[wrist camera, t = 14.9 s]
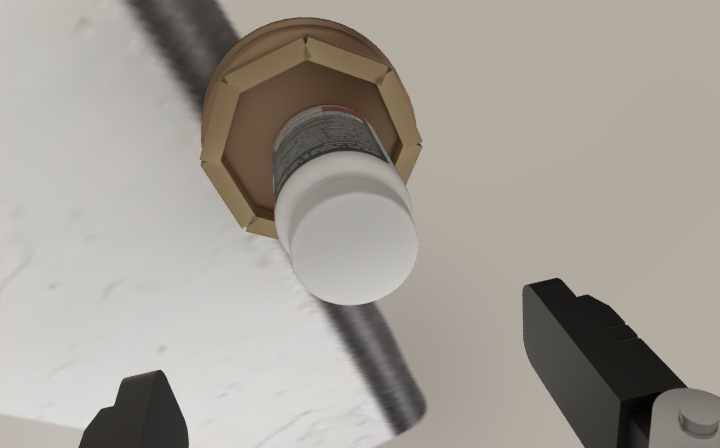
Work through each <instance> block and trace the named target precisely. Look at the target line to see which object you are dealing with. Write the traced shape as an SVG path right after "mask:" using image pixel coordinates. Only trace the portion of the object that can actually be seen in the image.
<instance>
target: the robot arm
mask: <svg viewBox="0 0 720 448" xmlns="http://www.w3.org/2000/svg"><path fill="white" fill-rule="evenodd" d="M522 296H523V339H524V345H525V350H526V353H527V356H528V359H529V361H530V363H531V365H532V367H533V368H534V370H535V371H536V373H537V374H538V376H539V378H540V379H541V381H542V382H543V384H544V385H545V387H546V388H547V390H548V392H549V393H550V394H551V396H552V398H553V399H554V401H555V402H556V404H557V405H558V407H559V408H560V410H561V412H562V413H563V415H564V416H565V418H566V419H567V421H568V422H569V424H570V425H571V427H572V429H573V430H574V432H575V433H576V435H577V436H578V438H579V439H580V441H581V443H582V444H583V446H584V447H585V448H720V397H718V396H716V395H714V394H712V393H709V392H706V391H702V390H699V389H692V388H688V387H687V386H686V385H685V384H684V383H683V382H682V381H681V380H680V379H679V378H678V377H677V376H676V375H675V374H674V373H673V372H672V370H671V369H670V368H669V367H668V366H667V365H666V364H665V363H664V362H663V361H662V360H661V359H660V358H659V357H658V356H657V355H656V354H655V353H654V352H653V351H652V350H651V349H650V348H649V347H648V345H647V344H645V342H644V341H643V340H642V339H640V338H638V337H637V334H636V333H635V332H634V331H633V330H632V329H631V328H630V327H629V326H628V325H625V322H624V321H623V319H621V318H620V316H619V315H618V314H617V313H616V312H615V311H614V310H613V309H612V308H611V307H610V306H609V305H607V304H604V303H603V302H601V301H599V300H597V299H595V298H593V297H591V296H590V295H583V296H579V297H576V296H575V295H574V293H573V292H572V291H571V290H570V289H569V288H568V287H567V285H565V283H564V282H563V281H562V280H561V279H559V278H554V279H550V280H545V281H541V282H537V283H532V284H529V285H525V286H524V288H523V294H522ZM79 448H189V439H188V431H187V426H186V422H185V419H184V417H183V415H182V412H181V410H180V408H179V405H178V403H177V401H176V399H175V396H174V394H173V392H172V389H171V387H170V385H169V382H168V380H167V378H166V376H165V374H164V373H163V371H161V370H157V371H152V372H148V373H144V374H140V375H135V376H131V377H127V378H124V379H123V380H122V382H121V384H120V388H119V391H118V394H117V398H116V401H115V404H114V406H111V407H107V408H103V409H101V410H100V411H99V412H98V414H97V415H96V416H95V418H94V419H93V420H92V422H91V423H90V424H89V425H88V427H87V428H86V429H85V431H84V433H83V437H82V440H81V442H80V445H79Z"/></svg>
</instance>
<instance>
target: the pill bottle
mask: <svg viewBox="0 0 720 448" xmlns="http://www.w3.org/2000/svg"><path fill="white" fill-rule="evenodd" d="M272 172H273V194H274V215H275V216H274V219H275V226H276V230H277V234H278V237H279V240H280V242H281V244H282V246H283V247H284V249H285V251H286V252H287V253H288V255H289V256H290V259H291V264H292V267H293V270H294V273H295V275H296V277H297V278H298V280H299V281H300V283H301V284H302V285H303V286H304V287H305V288H306V289H307V290H308V291H309V292H310V293H312V294H313V295H315V296H316V297H318V298H320V299H322V300H324V301H327V302H330V303H335V304H341V305H359V304H366V303H369V302H373V301H375V300H378V299H380V298H382V297H384V296H386V295H388V294H389V293H391V292H392V291H394V290H395V289H396V288H398V287H399V286H400V285H401V284H402V283H403V282H404V281H405V279H406V278H407V277H408V276H409V274H410V273H411V271H412V269H413V267H414V265H415V262H416V259H417V255H418V249H419V239H418V232H417V229H416V226H415V223H414V222H413V219H412V206H411V199H410V196H409V193H408V190H407V187H406V185H405V183H404V181H403V179H402V177H401V176H400V174H399V173H398V171H397V169H396V167H395V166H394V164H393V162H392V161H391V159H390V157H389V155H388V154H387V152H386V150H385V148H384V146H383V145H382V143H381V141H380V139H379V137H378V135H377V134H376V132H375V130H374V129H373V127H372V126H371V125H370V124H369V122H368V121H367V120H366V119H365V118H363V117H362V116H361V115H359V114H358V113H356V112H354V111H352V110H350V109H348V108H345V107H341V106H336V105H320V106H316V107H312V108H309V109H307V110H304V111H302V112H300V113H298V114H297V115H295V116H294V117H292V118H291V119H290V120H289V121H288V122H287V123H286V124H285V125H284V126H283V128H282V129H281V130H280V132H279V134H278V136H277V138H276V140H275V143H274V146H273V152H272Z"/></svg>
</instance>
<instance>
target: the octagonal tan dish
mask: <svg viewBox="0 0 720 448" xmlns="http://www.w3.org/2000/svg"><path fill="white" fill-rule="evenodd" d="M320 105H336V106H341V107H345V108H348V109H350V110H352V111H354V112H356V113H358V114H359V115H361V116H362V117H363V118H365V119H366V120H367V121H368V122H369V124H370V125H371V126H372V127H373V129H374V130H375V132H376V134H377V135H378V137H379V139H380V141H381V143H382V145H383V146H384V148H385V150H386V152H387V154H388V155H389V157H390V159H391V161H392V162H393V164H394V166H395V167H396V169H397V171H398V173H399V174H400V176H401V177H402V179H403V181H404V183H405V185H406V183H407V181H408V179H409V177H410V174H411V172H412V170H413V167H414V165H415V163H416V160H417V158H418V156H419V153H420V151H421V149H422V146H421V144H420V142H422V139H421V137H420V134H419V132H418V130H417V127H416V121H415V115H414V110H413V107H412V104H411V101H410V98H409V96H408V94H407V92H406V90H405V88H404V86H403V84H402V82H401V80H400V78H399V76H398V74H397V72H396V70H395V68H394V67H393V66H392V64H391V63H390V61H389V60H388V58H387V57H386V56H385V55H384V54H383V53H382V52H381V50H380V49H379V48H378V47H377V46H376V45H374V44H373V43H372V42H371V41H370V40H369V39H367V38H366V37H365V36H363V35H362V34H360V33H358V32H357V31H355V30H353V29H351V28H349V27H347V26H345V25H342V24H340V23H336V22H333V21H330V20H325V19H319V18H300V17H299V18H291V19H284V20H281V21H276V22H273V23H270V24H267V25H265V26H263V27H260V28H258V29H256V30H254V31H253V32H251V33H250V34H248V35H246V36H245V37H243V38H242V39H241V40H240V41H238V42H237V43H236V44H235V45H234V46H233V47H232V48H231V49H230V50H229V51H228V52H227V53H226V54H225V56H224V57H223V58H222V60H221V61H220V63H219V64H218V66H217V67H216V69H215V71H214V73H213V75H212V77H211V79H210V82H209V85H208V88H207V91H206V94H205V98H204V103H203V109H202V132H201V143H202V152H201V156H200V160H202V162H201V167H202V168H203V170H204V171H205V173H206V174H207V176H208V177H209V179H210V180H211V182H212V184H213V185H214V187H215V188H216V190H217V191H218V193H219V194H220V196H221V197H222V199H223V200H224V202H225V203H226V205H227V206H228V208H229V209H230V211H231V213H232V214H233V216H234V217H235V219H236V220H237V222H238V223H239V225H240V226H241V228H244V227H246V226H247V230H246V232H250V233H254V234H258V235H262V236H266V237H271V238H275V239H279V237H278V234H277V230H276V226H275V219H274V216H275V215H274V194H273V172H272V152H273V146H274V143H275V140H276V138H277V136H278V134H279V132H280V130H281V129H282V128H283V126H284V125H285V124H286V123H287V122H288V121H289V120H290V119H291V118H292V117H294V116H295V115H297V114H298V113H300V112H302V111H304V110H307V109H309V108H312V107H316V106H320Z"/></svg>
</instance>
